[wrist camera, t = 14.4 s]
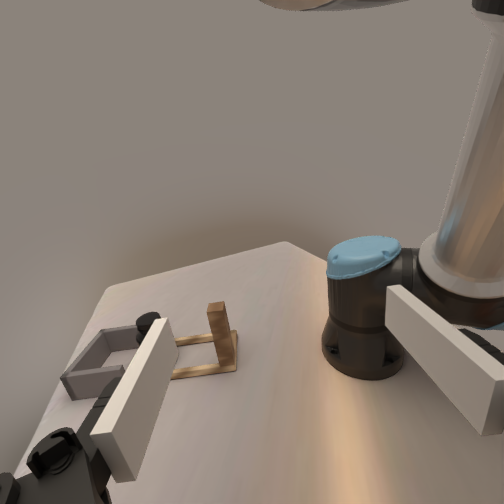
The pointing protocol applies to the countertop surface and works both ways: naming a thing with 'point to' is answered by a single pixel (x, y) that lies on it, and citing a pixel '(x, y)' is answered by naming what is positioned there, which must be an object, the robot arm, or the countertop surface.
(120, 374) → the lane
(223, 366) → the wooden corner frame
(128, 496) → the countertop surface
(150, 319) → the supplement bottle
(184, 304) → the countertop surface
